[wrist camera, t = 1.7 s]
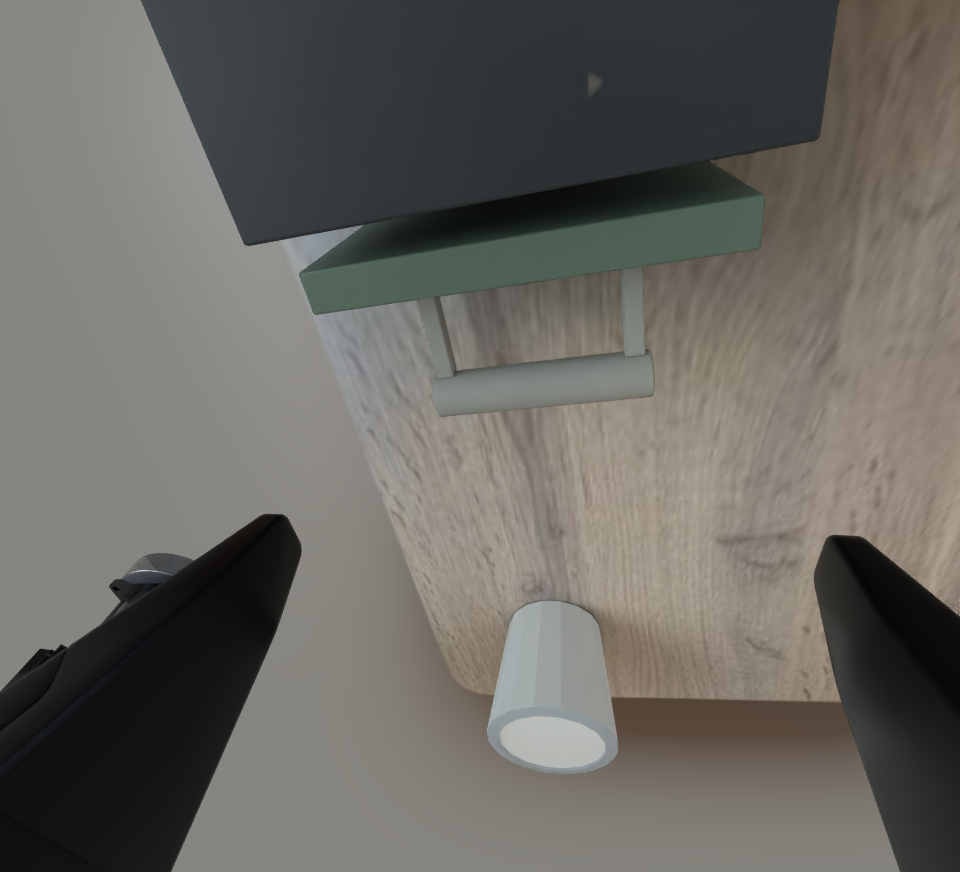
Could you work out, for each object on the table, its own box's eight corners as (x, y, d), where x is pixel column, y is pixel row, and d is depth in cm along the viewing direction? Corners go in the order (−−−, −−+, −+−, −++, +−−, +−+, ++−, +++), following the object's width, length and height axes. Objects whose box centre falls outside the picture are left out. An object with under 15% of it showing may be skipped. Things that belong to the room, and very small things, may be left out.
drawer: (695, 327, 20) (744, 423, 15) (415, 361, 23) (366, 454, 17) (720, -449, 11) (879, -992, 5) (242, -246, 13) (11, -476, 8)
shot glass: (619, 657, 34) (630, 776, 28) (518, 665, 36) (508, 777, 30) (596, 587, 30) (603, 705, 25) (485, 600, 32) (468, 712, 27)
